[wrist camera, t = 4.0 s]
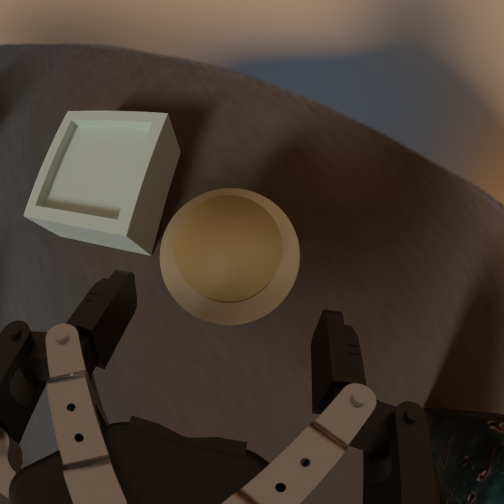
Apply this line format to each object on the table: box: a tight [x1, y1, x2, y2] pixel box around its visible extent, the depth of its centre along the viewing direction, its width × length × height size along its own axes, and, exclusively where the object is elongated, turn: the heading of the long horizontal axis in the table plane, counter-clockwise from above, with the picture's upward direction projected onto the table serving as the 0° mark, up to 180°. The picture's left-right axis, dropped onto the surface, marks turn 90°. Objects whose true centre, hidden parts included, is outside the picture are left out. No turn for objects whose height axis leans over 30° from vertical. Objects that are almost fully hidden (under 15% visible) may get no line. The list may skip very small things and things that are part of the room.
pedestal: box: [24, 111, 181, 256], centre depth 19 cm, size 8×8×5 cm
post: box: [160, 188, 300, 325], centre depth 14 cm, size 5×5×11 cm
